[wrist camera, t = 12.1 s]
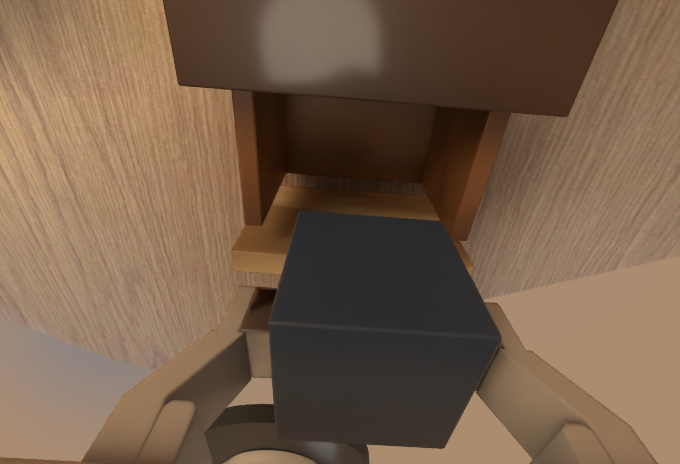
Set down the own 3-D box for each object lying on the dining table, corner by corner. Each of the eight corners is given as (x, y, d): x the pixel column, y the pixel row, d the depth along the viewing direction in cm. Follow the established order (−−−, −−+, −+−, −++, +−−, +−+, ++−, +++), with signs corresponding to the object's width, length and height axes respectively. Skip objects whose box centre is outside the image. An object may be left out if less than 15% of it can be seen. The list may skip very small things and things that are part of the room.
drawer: (418, 259, 24) (446, 344, 17) (270, 249, 24) (241, 330, 17) (496, -40, 15) (618, -104, 8) (254, -62, 14) (175, -148, 8)
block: (414, 319, 12) (444, 450, 8) (298, 312, 12) (275, 440, 8) (442, 219, 10) (504, 338, 6) (298, 209, 9) (266, 323, 6)
